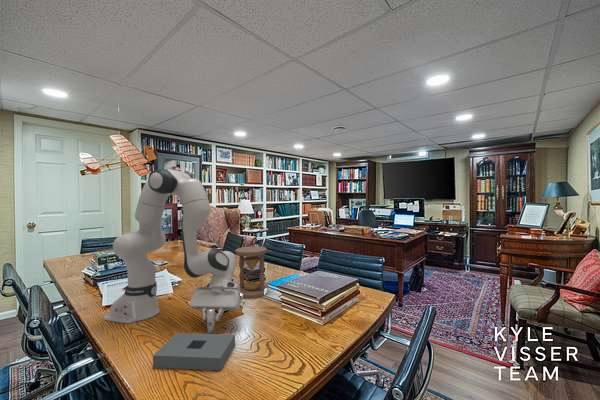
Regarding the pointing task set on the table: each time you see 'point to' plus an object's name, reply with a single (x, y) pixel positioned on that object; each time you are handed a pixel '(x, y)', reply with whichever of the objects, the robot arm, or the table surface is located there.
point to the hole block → (195, 351)
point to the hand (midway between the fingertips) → (210, 320)
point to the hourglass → (252, 287)
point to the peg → (210, 321)
